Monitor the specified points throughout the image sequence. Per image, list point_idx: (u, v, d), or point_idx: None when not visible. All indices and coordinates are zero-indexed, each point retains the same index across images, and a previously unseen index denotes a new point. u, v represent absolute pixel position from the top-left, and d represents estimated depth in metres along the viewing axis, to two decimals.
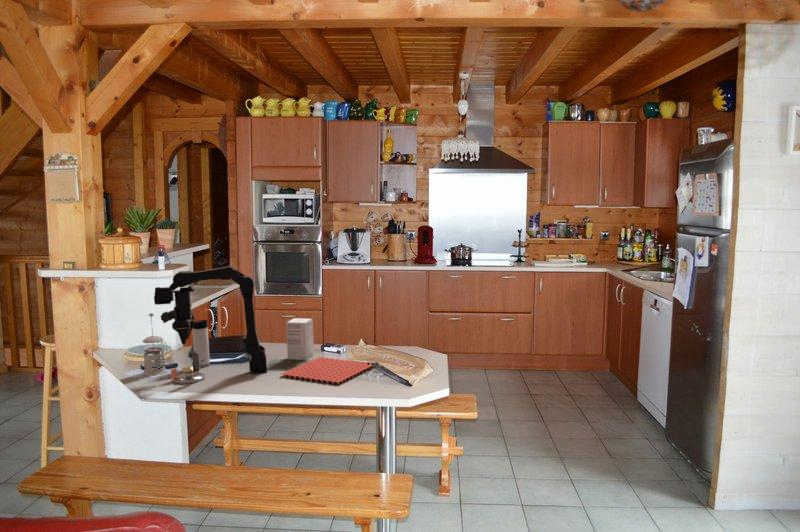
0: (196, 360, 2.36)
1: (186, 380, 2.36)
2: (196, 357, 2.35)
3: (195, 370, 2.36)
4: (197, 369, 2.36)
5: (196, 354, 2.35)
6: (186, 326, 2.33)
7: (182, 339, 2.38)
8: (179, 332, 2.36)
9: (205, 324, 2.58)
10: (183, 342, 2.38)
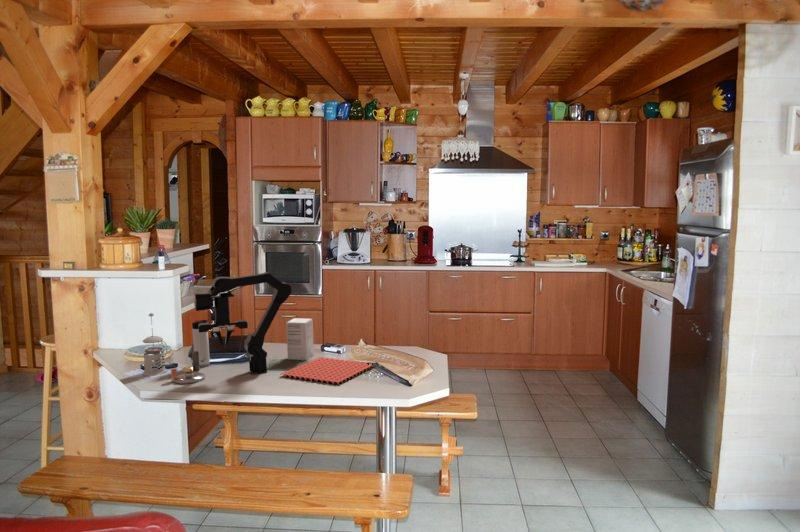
0: (196, 360, 2.36)
1: (186, 380, 2.36)
2: (196, 357, 2.35)
3: (195, 370, 2.36)
4: (197, 369, 2.36)
5: (196, 354, 2.35)
6: None
7: (220, 341, 2.43)
8: None
9: None
10: None
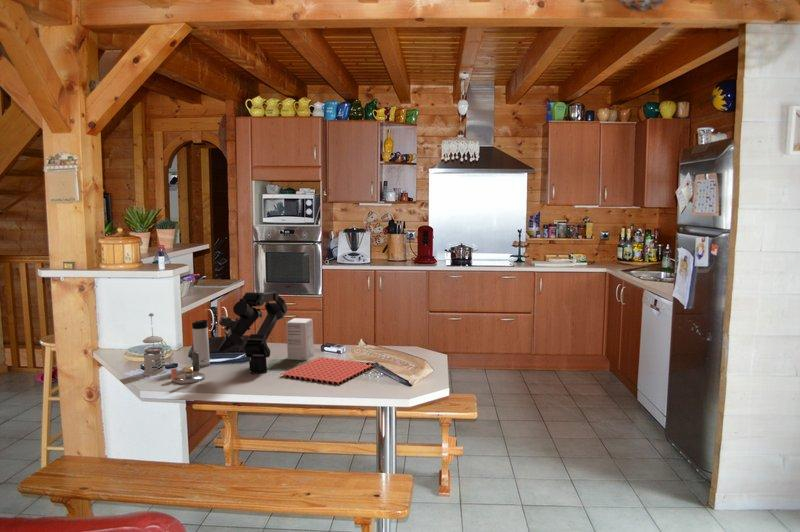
0: (196, 360, 2.36)
1: (186, 380, 2.36)
2: (196, 357, 2.35)
3: (195, 370, 2.36)
4: (197, 369, 2.36)
5: (196, 354, 2.35)
6: (240, 344, 2.33)
7: (222, 347, 2.39)
8: (226, 340, 2.38)
9: (205, 324, 2.58)
10: (220, 350, 2.39)
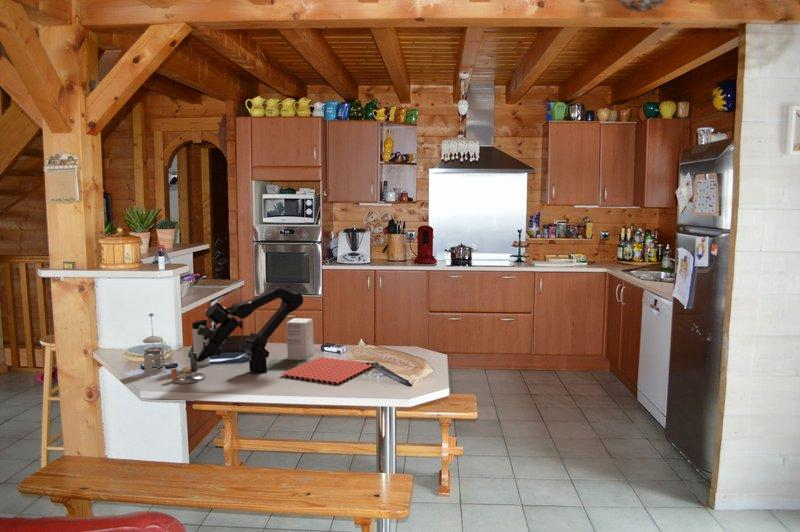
0: (193, 361, 2.35)
1: (186, 380, 2.36)
2: (193, 358, 2.35)
3: (192, 371, 2.35)
4: (194, 370, 2.35)
5: (193, 355, 2.35)
6: (217, 354, 2.31)
7: (201, 357, 2.36)
8: (204, 350, 2.35)
9: (205, 324, 2.58)
10: (198, 360, 2.36)
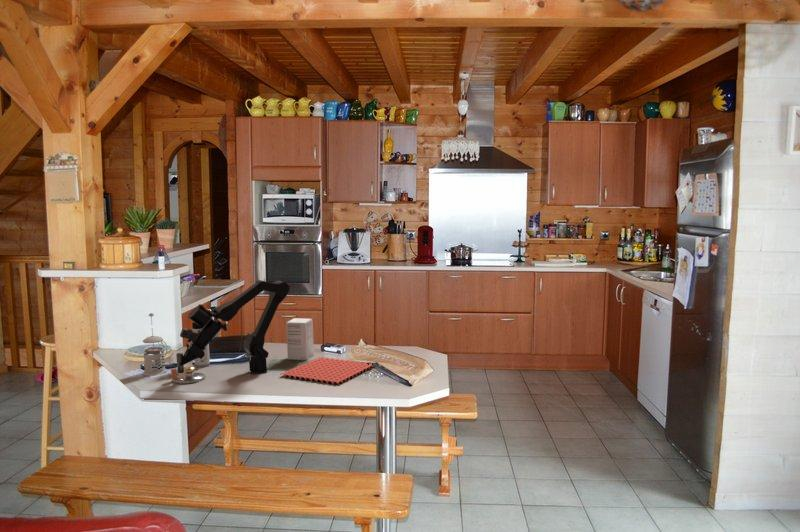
0: (177, 362, 2.34)
1: (186, 380, 2.36)
2: (177, 359, 2.33)
3: None
4: (178, 371, 2.34)
5: (177, 356, 2.33)
6: (200, 356, 2.28)
7: (184, 360, 2.33)
8: (188, 353, 2.33)
9: None
10: (182, 363, 2.33)
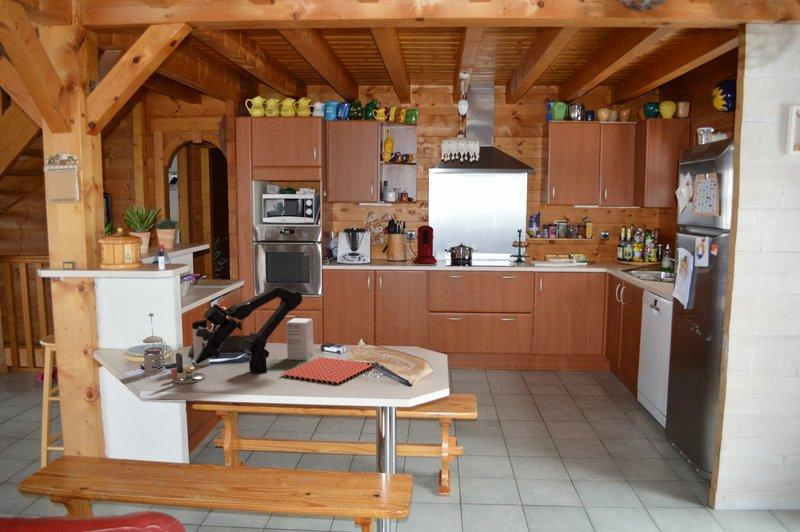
0: (176, 362, 2.34)
1: (186, 380, 2.36)
2: (176, 359, 2.34)
3: None
4: (177, 371, 2.34)
5: (176, 356, 2.33)
6: (216, 355, 2.31)
7: (200, 358, 2.36)
8: (203, 352, 2.36)
9: (205, 324, 2.58)
10: (197, 361, 2.37)
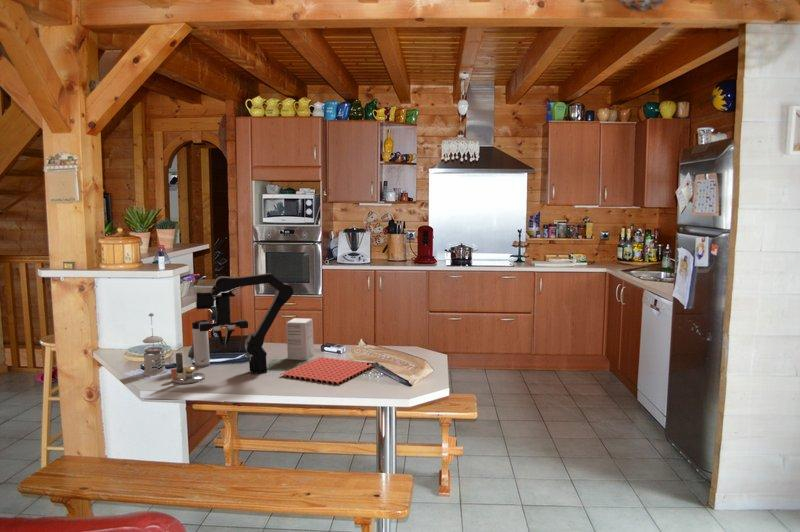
0: (176, 362, 2.34)
1: (186, 380, 2.36)
2: (176, 359, 2.34)
3: None
4: (177, 371, 2.34)
5: (176, 356, 2.33)
6: (199, 329, 2.38)
7: (220, 340, 2.44)
8: None
9: None
10: (221, 344, 2.44)
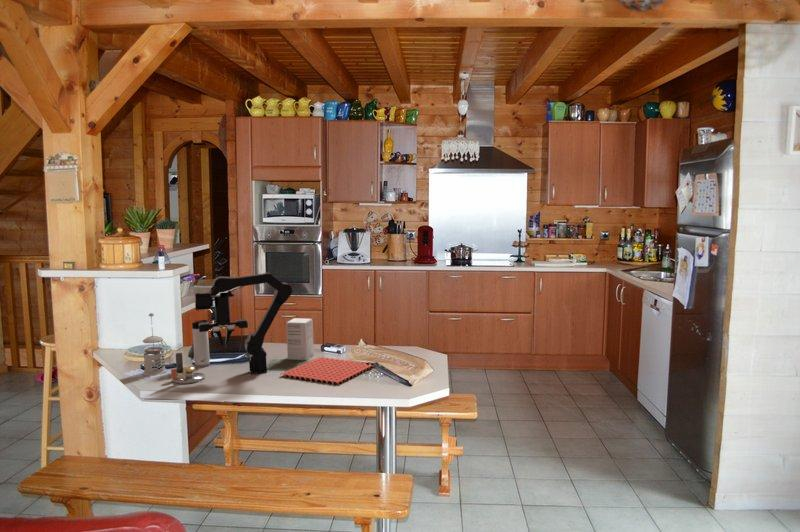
0: (176, 362, 2.34)
1: (186, 380, 2.36)
2: (176, 359, 2.34)
3: None
4: (177, 371, 2.34)
5: (176, 356, 2.33)
6: (199, 330, 2.38)
7: None
8: None
9: None
10: (221, 344, 2.44)
